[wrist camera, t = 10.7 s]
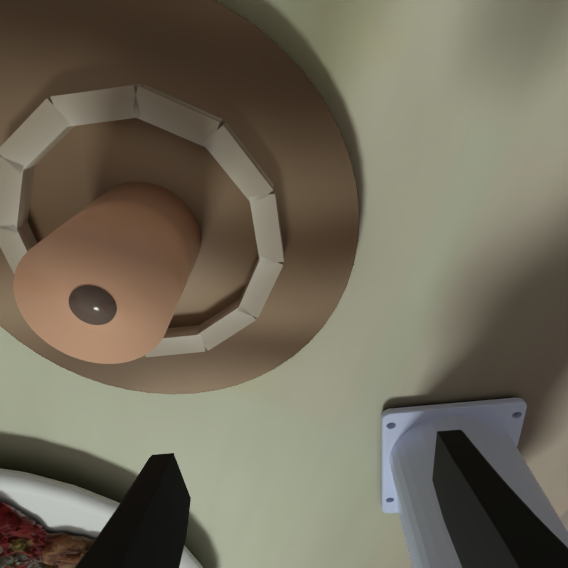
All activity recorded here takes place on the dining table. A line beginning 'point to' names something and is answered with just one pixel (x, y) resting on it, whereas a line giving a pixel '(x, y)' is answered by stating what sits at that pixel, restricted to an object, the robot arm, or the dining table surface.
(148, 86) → the ring board
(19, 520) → the plated food
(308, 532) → the dining table surface
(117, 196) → the terracotta bead
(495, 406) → the robot arm
